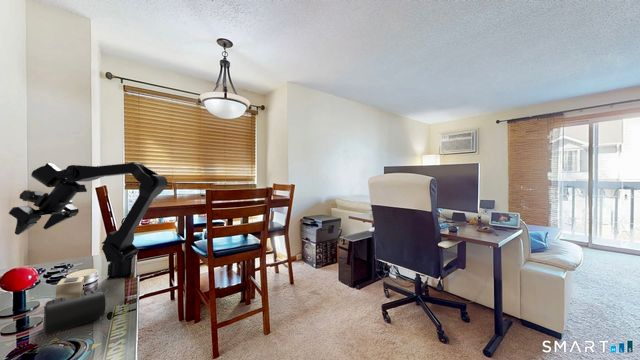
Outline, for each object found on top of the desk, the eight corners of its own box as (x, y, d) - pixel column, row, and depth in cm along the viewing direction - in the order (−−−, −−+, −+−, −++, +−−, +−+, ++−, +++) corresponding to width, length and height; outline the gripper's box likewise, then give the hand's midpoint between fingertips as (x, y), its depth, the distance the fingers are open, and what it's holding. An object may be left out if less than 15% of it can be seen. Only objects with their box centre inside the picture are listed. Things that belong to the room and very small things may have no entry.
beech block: (83, 292, 74) (85, 275, 74) (80, 298, 70) (81, 281, 70) (60, 295, 71) (61, 278, 71) (55, 303, 67) (56, 284, 67)
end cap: (43, 342, 52) (46, 310, 52) (40, 328, 56) (42, 299, 56) (104, 322, 60) (106, 295, 60) (98, 311, 64) (99, 286, 64)
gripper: (65, 181, 94) (38, 214, 92) (10, 181, 75) (-25, 222, 74) (91, 198, 95) (64, 231, 93) (42, 202, 76) (8, 243, 75)
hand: (31, 231), depth 84 cm, fingers open, 9 cm apart
